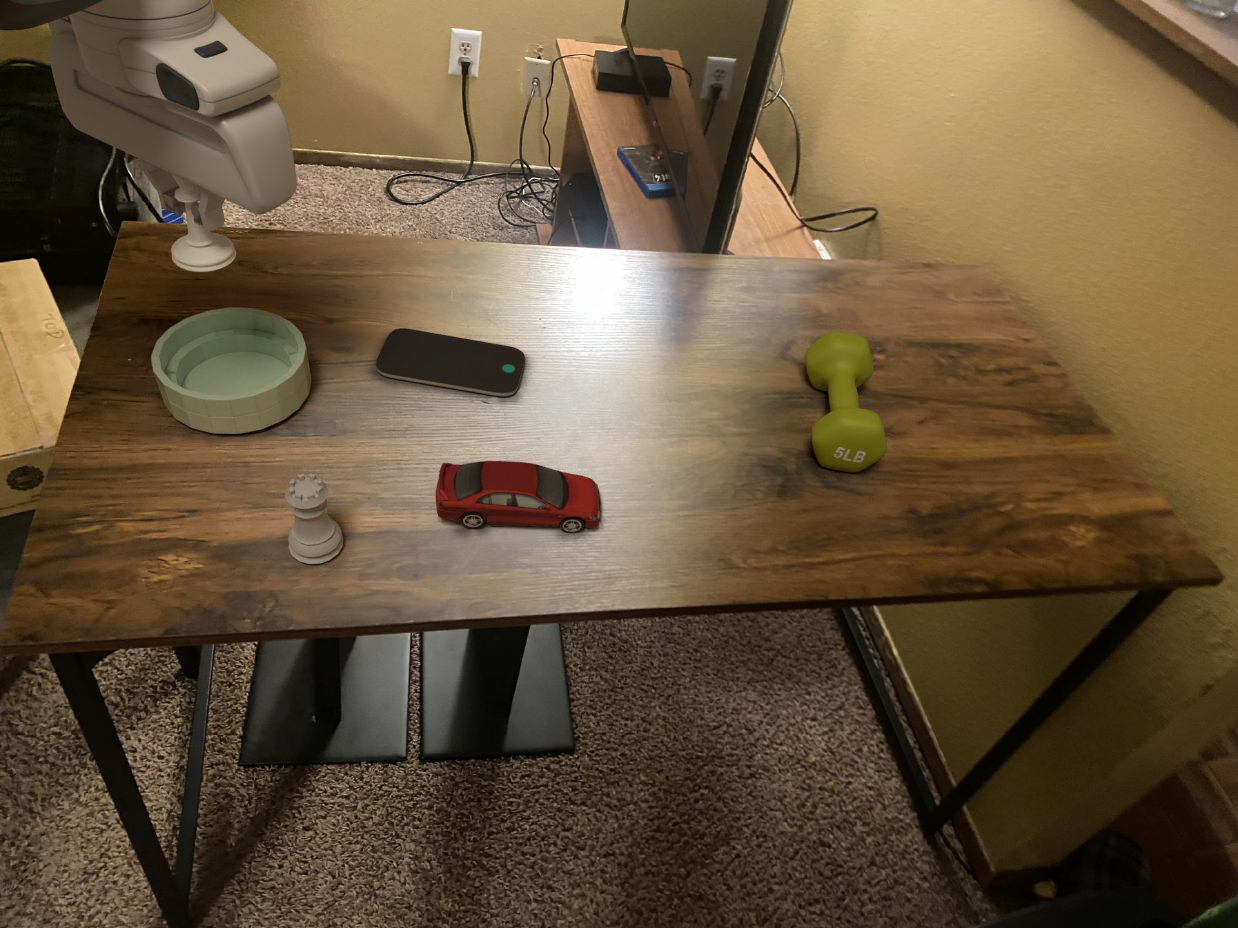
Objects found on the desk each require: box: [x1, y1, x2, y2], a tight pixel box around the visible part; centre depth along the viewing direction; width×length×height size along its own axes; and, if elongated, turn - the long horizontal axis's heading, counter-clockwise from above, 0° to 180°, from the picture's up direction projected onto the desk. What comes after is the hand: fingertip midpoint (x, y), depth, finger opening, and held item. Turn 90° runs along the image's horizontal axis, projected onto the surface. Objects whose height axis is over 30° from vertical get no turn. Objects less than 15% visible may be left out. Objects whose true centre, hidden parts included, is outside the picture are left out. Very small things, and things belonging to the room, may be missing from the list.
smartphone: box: [375, 327, 526, 397], centre depth 89 cm, size 8×1×15 cm
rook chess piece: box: [284, 473, 344, 565], centre depth 69 cm, size 4×4×8 cm
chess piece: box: [170, 174, 237, 273], centre depth 66 cm, size 5×5×10 cm
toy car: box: [435, 460, 602, 534], centre depth 76 cm, size 6×15×5 cm, turn 91°
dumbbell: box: [804, 330, 888, 473], centre depth 90 cm, size 16×8×7 cm, turn 174°
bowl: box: [150, 306, 312, 435], centre depth 81 cm, size 13×13×5 cm
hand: (194, 217), depth 67 cm, fingers closed on chess piece
